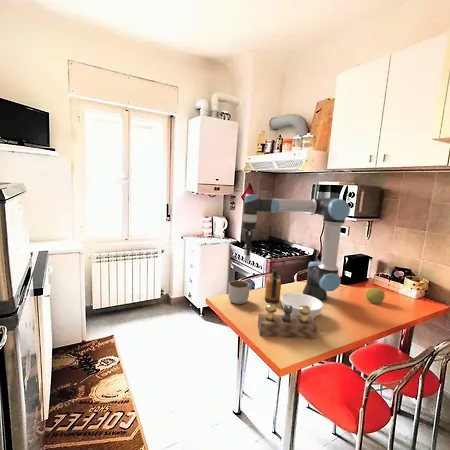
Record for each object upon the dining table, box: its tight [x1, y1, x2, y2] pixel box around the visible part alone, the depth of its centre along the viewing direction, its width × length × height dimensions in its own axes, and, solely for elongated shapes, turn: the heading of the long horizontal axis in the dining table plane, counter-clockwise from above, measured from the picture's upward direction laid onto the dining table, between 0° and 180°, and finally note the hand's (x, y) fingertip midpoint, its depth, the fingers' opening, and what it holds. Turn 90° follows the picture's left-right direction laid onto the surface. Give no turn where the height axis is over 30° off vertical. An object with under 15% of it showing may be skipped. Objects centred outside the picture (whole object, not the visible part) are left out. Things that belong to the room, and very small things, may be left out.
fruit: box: [365, 287, 385, 305], centre depth 173 cm, size 10×11×10 cm
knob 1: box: [265, 302, 277, 321], centre depth 129 cm, size 5×5×9 cm
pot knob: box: [283, 305, 292, 322], centre depth 129 cm, size 4×4×10 cm
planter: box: [227, 280, 251, 305], centre depth 162 cm, size 12×12×11 cm
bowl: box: [280, 292, 324, 321], centre depth 149 cm, size 22×22×8 cm
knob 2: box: [299, 306, 310, 324], centre depth 129 cm, size 5×5×9 cm
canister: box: [264, 268, 282, 304], centre depth 164 cm, size 9×11×20 cm
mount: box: [257, 313, 318, 340], centre depth 130 cm, size 26×10×6 cm, turn 89°
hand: (246, 257), depth 157 cm, fingers open, 13 cm apart
